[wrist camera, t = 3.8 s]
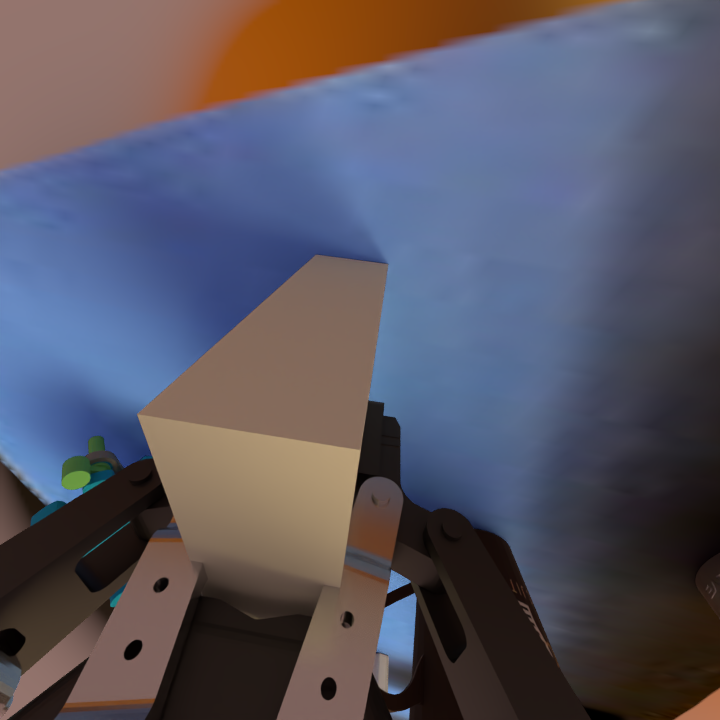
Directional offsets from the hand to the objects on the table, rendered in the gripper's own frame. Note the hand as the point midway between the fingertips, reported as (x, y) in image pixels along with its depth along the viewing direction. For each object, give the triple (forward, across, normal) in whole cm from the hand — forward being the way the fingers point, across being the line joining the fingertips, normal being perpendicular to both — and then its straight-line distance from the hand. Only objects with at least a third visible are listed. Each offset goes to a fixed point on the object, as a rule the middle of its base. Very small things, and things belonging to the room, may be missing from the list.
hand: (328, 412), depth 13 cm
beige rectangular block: (+3, 0, 0) cm, 3 cm away
